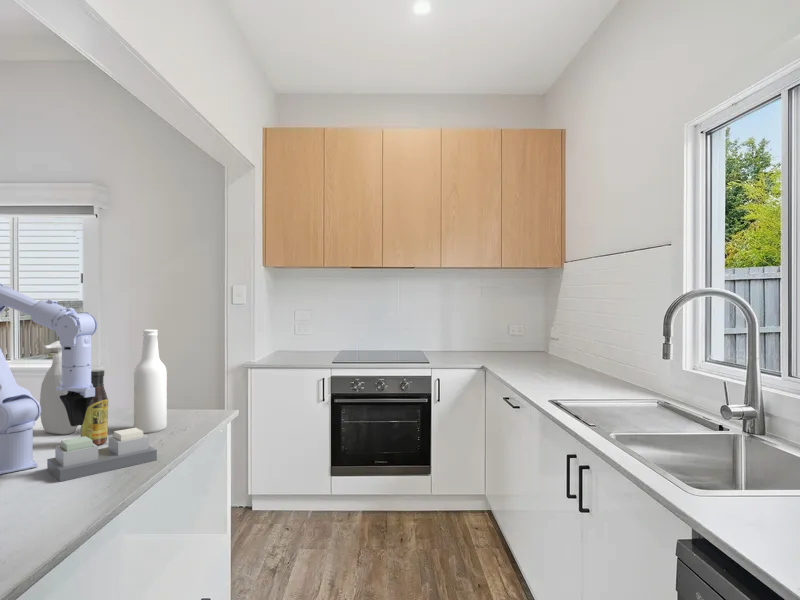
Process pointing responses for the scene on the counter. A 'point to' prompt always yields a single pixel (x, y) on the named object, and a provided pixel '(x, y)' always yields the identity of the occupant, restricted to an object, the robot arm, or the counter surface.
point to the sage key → (76, 443)
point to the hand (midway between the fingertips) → (76, 425)
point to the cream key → (128, 434)
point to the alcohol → (150, 387)
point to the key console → (100, 458)
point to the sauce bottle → (96, 412)
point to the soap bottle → (54, 398)
